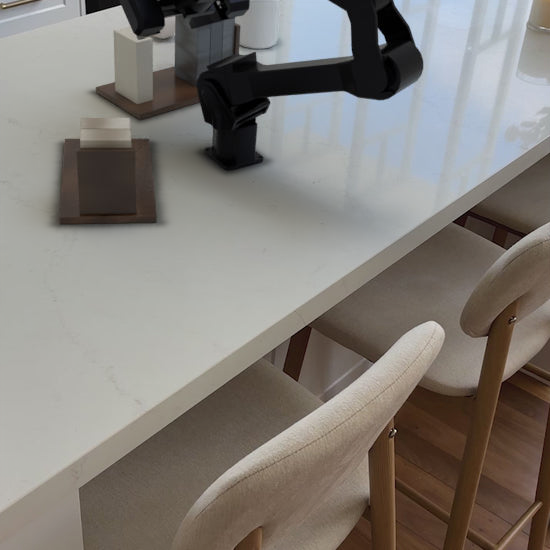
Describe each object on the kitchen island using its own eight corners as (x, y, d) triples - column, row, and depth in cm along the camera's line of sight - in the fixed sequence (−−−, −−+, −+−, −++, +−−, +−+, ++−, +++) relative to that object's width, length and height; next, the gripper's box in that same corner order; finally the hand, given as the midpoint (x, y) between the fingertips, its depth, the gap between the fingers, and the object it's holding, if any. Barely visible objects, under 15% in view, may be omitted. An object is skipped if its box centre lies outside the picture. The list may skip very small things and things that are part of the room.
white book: (153, 100, 140) (152, 38, 134) (137, 104, 138) (136, 42, 132) (130, 86, 143) (129, 26, 137) (115, 91, 141) (113, 30, 135)
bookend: (248, 87, 149) (253, 17, 142) (140, 120, 136) (139, 44, 129) (203, 63, 156) (205, -5, 149) (95, 92, 142) (92, 19, 136)
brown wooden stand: (149, 144, 129) (149, 73, 123) (156, 222, 112) (156, 144, 106) (65, 144, 127) (60, 72, 121) (59, 224, 110) (53, 144, 104)
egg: (169, 46, 161) (170, 4, 157) (140, 39, 163) (139, -2, 158) (184, 36, 166) (185, -5, 161) (155, 29, 167) (155, -11, 163)
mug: (207, 38, 166) (209, -17, 160) (228, 25, 172) (231, -28, 166) (265, 53, 162) (269, -3, 156) (284, 39, 168) (289, -15, 162)
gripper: (240, -88, 122) (195, -27, 136) (122, -74, 112) (86, -9, 126) (273, -16, 122) (224, 39, 135) (157, 5, 112) (117, 62, 125)
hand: (164, 31), depth 130 cm, fingers open, 9 cm apart
